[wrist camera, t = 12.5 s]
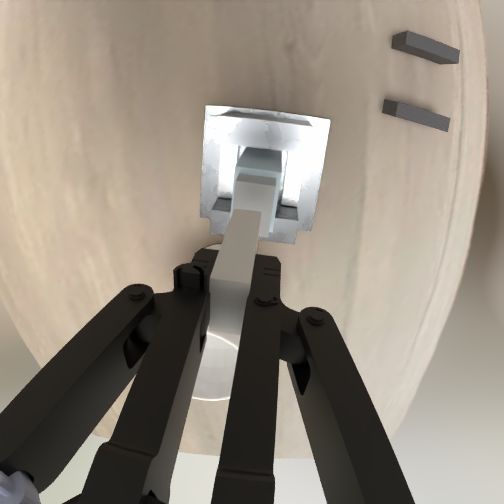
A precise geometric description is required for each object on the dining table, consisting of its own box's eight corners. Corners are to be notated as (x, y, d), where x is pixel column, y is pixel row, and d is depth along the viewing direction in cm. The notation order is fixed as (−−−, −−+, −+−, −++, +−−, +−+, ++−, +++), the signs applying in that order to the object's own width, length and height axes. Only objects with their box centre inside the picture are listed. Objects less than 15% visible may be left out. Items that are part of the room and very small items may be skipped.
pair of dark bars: (392, 35, 24) (407, 30, 20) (441, 52, 24) (459, 50, 20) (382, 112, 28) (395, 116, 24) (430, 125, 28) (447, 132, 24)
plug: (246, 146, 31) (231, 173, 22) (281, 151, 30) (281, 180, 22) (240, 193, 33) (225, 237, 24) (274, 198, 33) (271, 244, 24)
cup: (221, 213, 35) (184, 298, 22) (288, 275, 38) (287, 375, 25) (164, 269, 39) (116, 357, 26) (227, 320, 42) (206, 415, 29)
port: (207, 105, 29) (194, 108, 25) (329, 119, 29) (338, 125, 25) (201, 215, 35) (189, 235, 31) (310, 229, 35) (314, 251, 30)
